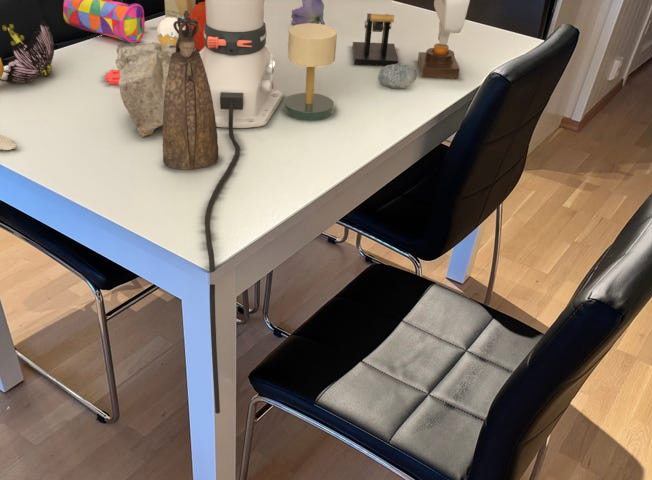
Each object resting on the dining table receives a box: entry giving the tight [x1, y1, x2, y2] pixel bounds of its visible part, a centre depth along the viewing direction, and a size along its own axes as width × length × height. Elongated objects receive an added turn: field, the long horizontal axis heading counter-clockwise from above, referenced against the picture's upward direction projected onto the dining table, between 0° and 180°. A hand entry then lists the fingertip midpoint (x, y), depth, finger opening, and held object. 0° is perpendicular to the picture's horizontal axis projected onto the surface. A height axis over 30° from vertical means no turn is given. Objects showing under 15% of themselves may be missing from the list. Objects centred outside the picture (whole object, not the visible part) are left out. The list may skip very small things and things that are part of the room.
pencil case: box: [62, 0, 146, 44], centre depth 164 cm, size 22×9×9 cm
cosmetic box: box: [164, 0, 197, 27], centre depth 161 cm, size 6×4×12 cm
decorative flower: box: [0, 20, 55, 85], centre depth 141 cm, size 15×12×15 cm
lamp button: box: [433, 43, 450, 55], centre depth 153 cm, size 3×3×2 cm
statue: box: [162, 11, 220, 170], centre depth 110 cm, size 9×8×25 cm
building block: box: [105, 69, 120, 87], centre depth 146 cm, size 1×8×8 cm
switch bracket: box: [352, 13, 399, 67], centre depth 158 cm, size 12×10×9 cm
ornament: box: [156, 16, 186, 46], centre depth 158 cm, size 7×7×8 cm
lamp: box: [283, 23, 338, 121], centre depth 132 cm, size 10×10×15 cm
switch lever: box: [370, 13, 395, 33], centre depth 152 cm, size 11×5×2 cm, turn 177°
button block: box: [417, 47, 461, 80], centre depth 154 cm, size 10×8×4 cm
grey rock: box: [377, 62, 418, 89], centre depth 146 cm, size 8×4×5 cm, turn 89°
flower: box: [290, 0, 326, 26], centre depth 172 cm, size 9×9×10 cm
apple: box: [189, 1, 206, 52], centre depth 157 cm, size 11×11×11 cm
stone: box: [114, 41, 176, 138], centre depth 126 cm, size 13×17×15 cm
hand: (442, 42), depth 151 cm, fingers closed
